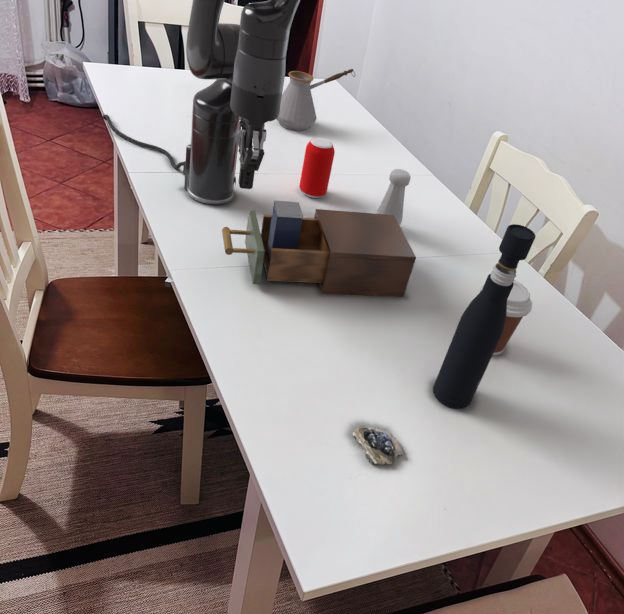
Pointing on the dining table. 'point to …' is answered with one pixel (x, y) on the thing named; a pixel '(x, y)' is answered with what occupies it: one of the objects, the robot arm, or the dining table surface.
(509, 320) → the coffee cup
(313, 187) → the beverage can
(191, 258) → the dining table surface
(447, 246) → the dining table surface
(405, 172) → the salt shaker
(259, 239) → the drawer
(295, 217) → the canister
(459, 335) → the black bottle
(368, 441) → the mineral rock
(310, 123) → the coffee pot
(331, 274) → the cabinet
